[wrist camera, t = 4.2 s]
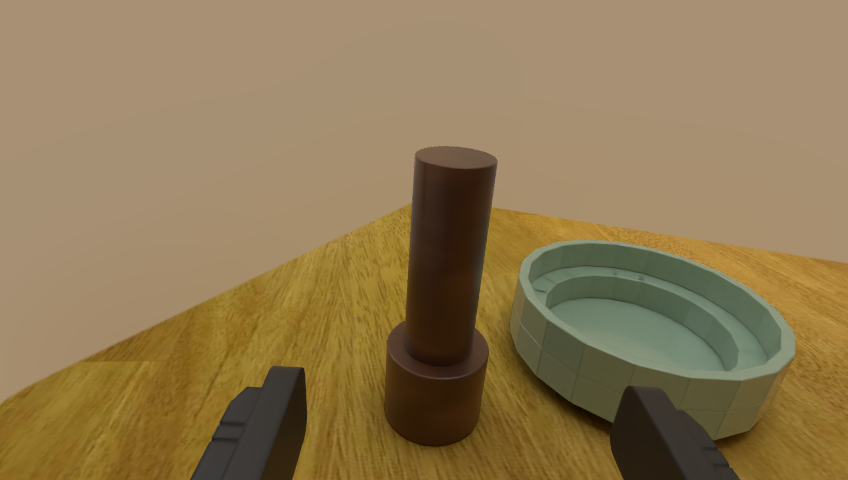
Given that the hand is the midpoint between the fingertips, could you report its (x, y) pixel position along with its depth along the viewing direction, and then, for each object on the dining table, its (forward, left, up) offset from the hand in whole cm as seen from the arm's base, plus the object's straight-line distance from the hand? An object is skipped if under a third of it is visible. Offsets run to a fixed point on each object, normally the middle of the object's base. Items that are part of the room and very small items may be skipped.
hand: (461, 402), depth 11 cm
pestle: (0, +9, -9) cm, 13 cm away
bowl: (+12, +14, -9) cm, 20 cm away
